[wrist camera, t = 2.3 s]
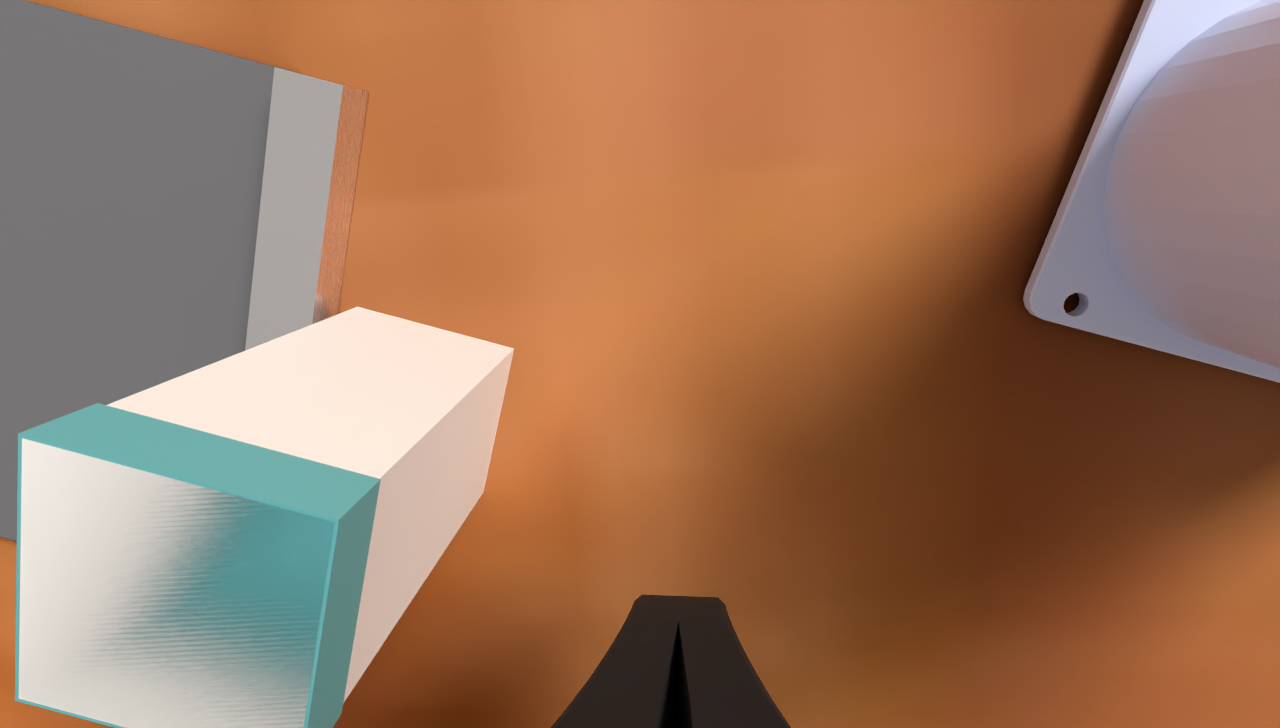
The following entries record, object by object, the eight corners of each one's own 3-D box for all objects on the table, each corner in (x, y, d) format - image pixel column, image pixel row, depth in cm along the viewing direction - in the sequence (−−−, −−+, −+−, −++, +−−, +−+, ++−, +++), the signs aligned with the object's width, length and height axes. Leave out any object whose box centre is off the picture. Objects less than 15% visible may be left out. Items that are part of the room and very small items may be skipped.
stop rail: (368, 91, 16) (343, 85, 15) (296, 608, 20) (271, 635, 19) (304, 74, 16) (274, 67, 15) (244, 594, 20) (217, 620, 19)
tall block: (516, 347, 17) (339, 519, 9) (485, 494, 18) (299, 777, 10) (355, 304, 17) (18, 433, 9) (333, 453, 18) (14, 700, 10)
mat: (298, 73, 16) (290, 71, 16) (239, 593, 20) (233, 599, 19) (-83, -28, 16) (-97, -32, 16) (-69, 510, 20) (-81, 515, 20)
